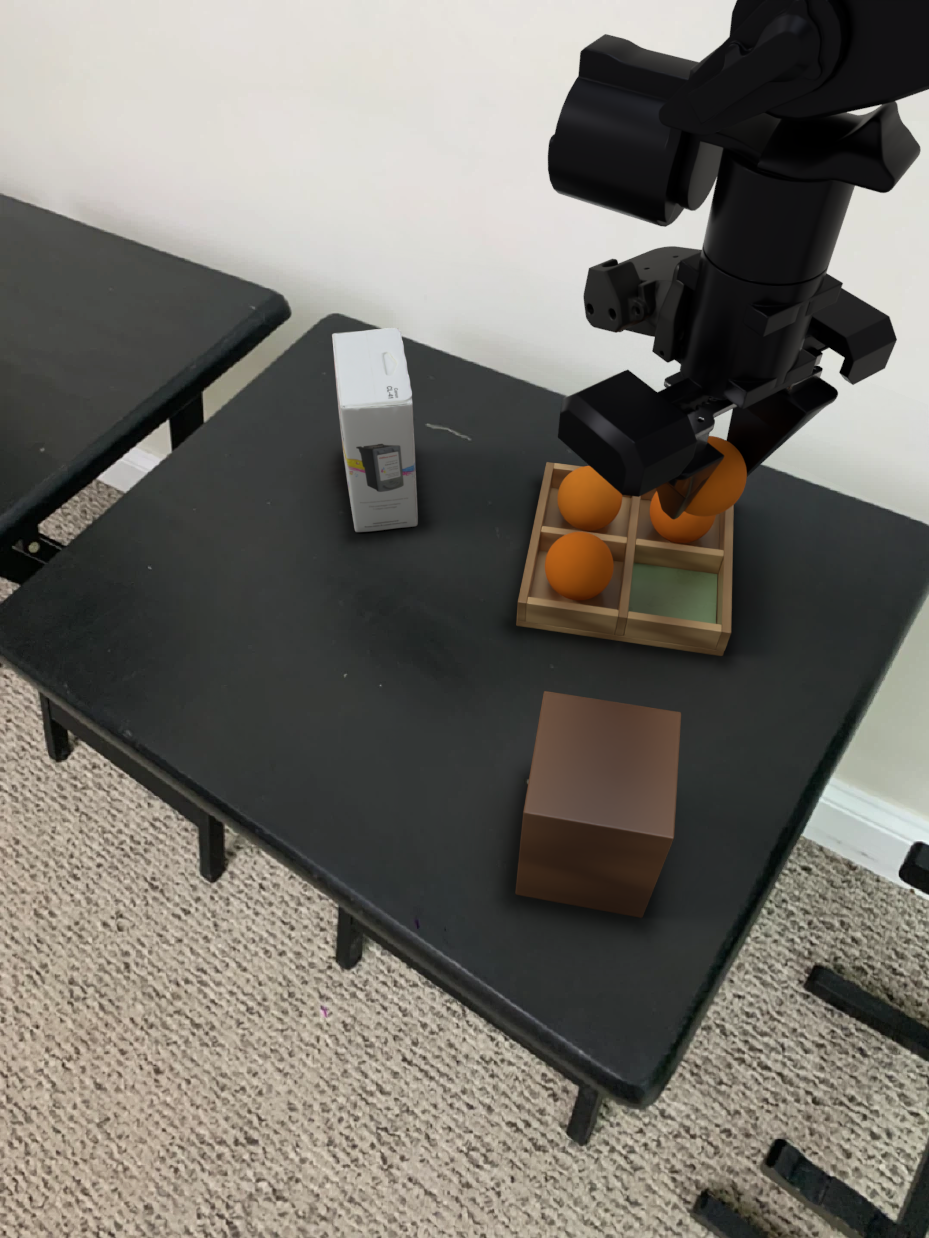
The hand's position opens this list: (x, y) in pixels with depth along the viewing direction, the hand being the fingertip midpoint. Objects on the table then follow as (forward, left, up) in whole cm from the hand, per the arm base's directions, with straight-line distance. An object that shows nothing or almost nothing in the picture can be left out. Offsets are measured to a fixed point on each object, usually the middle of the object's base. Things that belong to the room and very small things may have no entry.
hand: (700, 497), depth 55 cm
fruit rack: (+3, -4, -11) cm, 12 cm away
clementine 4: (0, 0, -1) cm, 1 cm away
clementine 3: (0, -7, -10) cm, 13 cm away
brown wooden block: (+4, +18, -11) cm, 22 cm away
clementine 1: (+7, -7, -10) cm, 14 cm away
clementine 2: (+7, -1, -10) cm, 12 cm away
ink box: (+22, -8, -11) cm, 26 cm away
